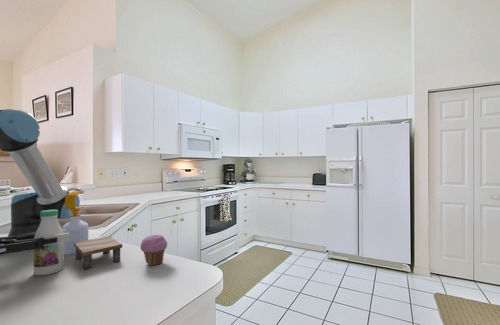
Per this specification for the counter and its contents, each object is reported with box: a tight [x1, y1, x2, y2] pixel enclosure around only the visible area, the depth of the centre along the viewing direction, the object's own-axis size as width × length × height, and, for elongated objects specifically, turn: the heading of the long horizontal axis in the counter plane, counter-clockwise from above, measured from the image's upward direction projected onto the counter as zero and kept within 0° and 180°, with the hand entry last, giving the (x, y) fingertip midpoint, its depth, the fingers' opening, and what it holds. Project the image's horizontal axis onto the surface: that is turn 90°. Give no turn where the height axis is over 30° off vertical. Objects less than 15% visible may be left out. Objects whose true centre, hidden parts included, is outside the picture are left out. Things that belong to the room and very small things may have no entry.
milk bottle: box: [33, 210, 65, 277], centre depth 81 cm, size 8×8×20 cm
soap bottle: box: [61, 190, 89, 256], centre depth 101 cm, size 9×9×25 cm
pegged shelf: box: [74, 235, 123, 271], centre depth 91 cm, size 16×12×6 cm
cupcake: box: [140, 234, 168, 267], centre depth 86 cm, size 9×9×10 cm
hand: (67, 234), depth 85 cm, fingers closed on milk bottle, 8 cm apart
